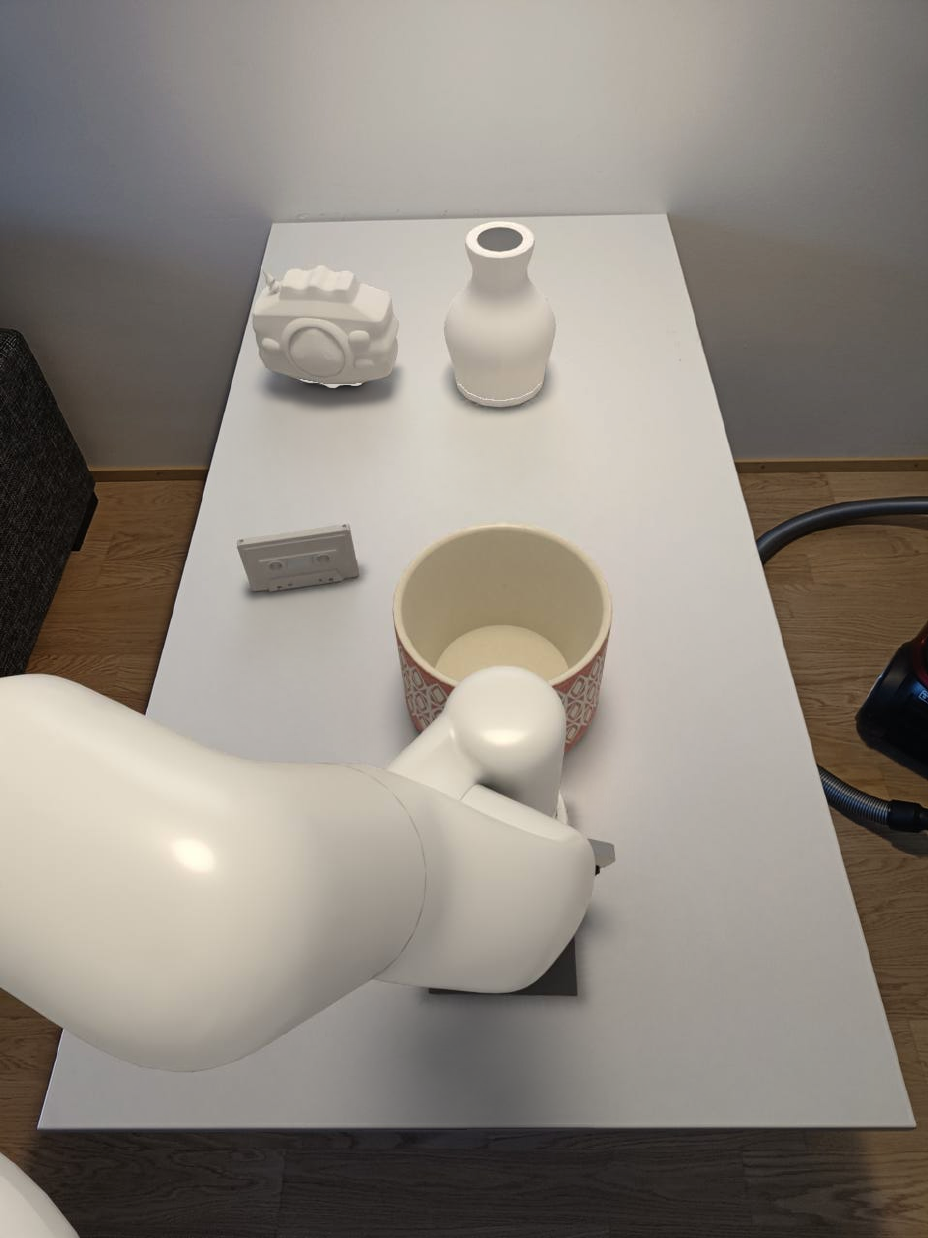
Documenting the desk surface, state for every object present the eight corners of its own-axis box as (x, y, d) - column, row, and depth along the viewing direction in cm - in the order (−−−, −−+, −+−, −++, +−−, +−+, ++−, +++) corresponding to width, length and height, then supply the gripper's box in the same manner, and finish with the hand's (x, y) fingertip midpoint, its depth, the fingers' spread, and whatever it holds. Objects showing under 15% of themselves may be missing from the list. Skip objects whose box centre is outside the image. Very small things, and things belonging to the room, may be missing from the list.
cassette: (252, 595, 97) (235, 549, 91) (251, 582, 99) (235, 536, 92) (360, 579, 98) (350, 532, 92) (358, 567, 99) (349, 519, 93)
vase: (556, 411, 114) (565, 269, 98) (446, 414, 115) (437, 273, 99) (549, 344, 123) (557, 204, 107) (447, 347, 123) (440, 207, 108)
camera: (282, 352, 124) (257, 246, 111) (408, 360, 122) (397, 253, 109) (260, 403, 117) (231, 296, 105) (392, 413, 115) (379, 304, 103)
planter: (607, 776, 83) (625, 691, 71) (403, 782, 83) (388, 698, 71) (587, 614, 94) (600, 518, 83) (408, 619, 95) (395, 524, 83)
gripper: (374, 851, 59) (397, 933, 73) (633, 853, 58) (608, 935, 72) (382, 752, 64) (403, 846, 77) (623, 753, 63) (601, 848, 77)
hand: (502, 889), depth 75 cm, fingers open, 9 cm apart
